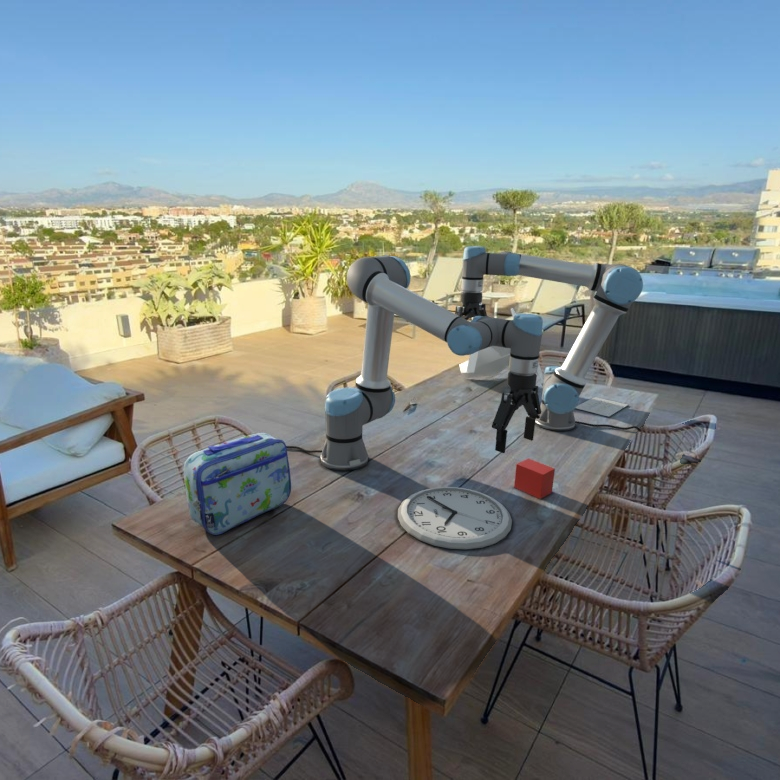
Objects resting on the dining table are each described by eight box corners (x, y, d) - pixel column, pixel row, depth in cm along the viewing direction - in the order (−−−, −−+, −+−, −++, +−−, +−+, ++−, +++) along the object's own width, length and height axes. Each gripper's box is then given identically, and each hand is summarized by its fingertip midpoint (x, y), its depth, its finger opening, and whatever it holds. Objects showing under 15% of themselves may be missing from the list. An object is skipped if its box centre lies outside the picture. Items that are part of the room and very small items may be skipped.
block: (513, 487, 154) (516, 463, 152) (525, 481, 158) (528, 458, 156) (540, 499, 148) (543, 474, 146) (552, 492, 152) (555, 468, 150)
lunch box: (204, 544, 124) (196, 463, 118) (184, 526, 131) (176, 449, 125) (295, 506, 142) (292, 434, 136) (274, 491, 149) (270, 423, 143)
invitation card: (608, 416, 214) (573, 407, 224) (608, 416, 214) (573, 408, 224) (628, 404, 229) (594, 396, 238) (628, 405, 229) (594, 397, 238)
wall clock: (528, 541, 125) (404, 545, 122) (528, 547, 125) (404, 551, 123) (494, 482, 153) (392, 485, 151) (494, 487, 154) (392, 490, 151)
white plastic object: (480, 420, 263) (459, 397, 239) (461, 347, 286) (440, 319, 261) (551, 396, 251) (537, 369, 226) (526, 322, 273) (511, 290, 249)
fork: (400, 412, 215) (400, 407, 215) (412, 400, 229) (412, 396, 229) (406, 412, 214) (406, 408, 214) (418, 401, 229) (418, 397, 228)
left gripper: (506, 383, 129) (498, 461, 136) (559, 367, 146) (550, 438, 152) (482, 377, 135) (476, 452, 141) (536, 362, 151) (528, 430, 157)
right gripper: (456, 295, 175) (452, 356, 182) (501, 290, 191) (497, 346, 198) (440, 292, 181) (437, 352, 187) (485, 288, 197) (481, 343, 203)
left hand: (514, 445), depth 147 cm, fingers open, 13 cm apart
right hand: (468, 349), depth 192 cm, fingers open, 13 cm apart
